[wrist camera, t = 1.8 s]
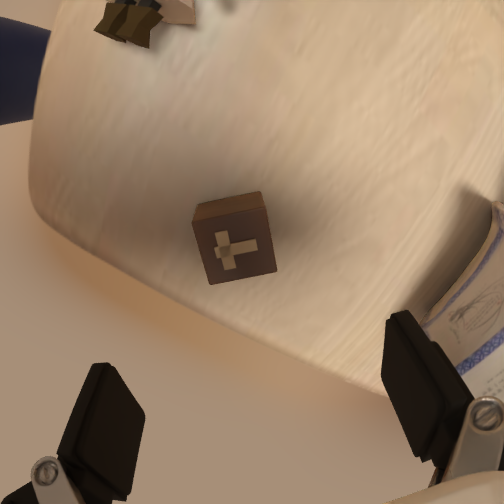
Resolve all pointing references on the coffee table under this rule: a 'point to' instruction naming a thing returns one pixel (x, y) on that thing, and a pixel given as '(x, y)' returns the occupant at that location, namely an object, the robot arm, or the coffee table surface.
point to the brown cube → (234, 238)
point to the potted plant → (475, 316)
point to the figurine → (142, 18)
